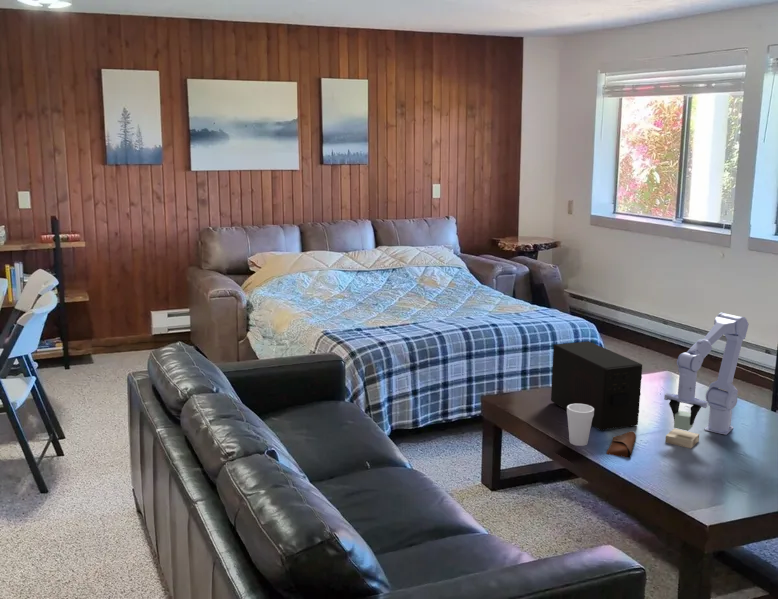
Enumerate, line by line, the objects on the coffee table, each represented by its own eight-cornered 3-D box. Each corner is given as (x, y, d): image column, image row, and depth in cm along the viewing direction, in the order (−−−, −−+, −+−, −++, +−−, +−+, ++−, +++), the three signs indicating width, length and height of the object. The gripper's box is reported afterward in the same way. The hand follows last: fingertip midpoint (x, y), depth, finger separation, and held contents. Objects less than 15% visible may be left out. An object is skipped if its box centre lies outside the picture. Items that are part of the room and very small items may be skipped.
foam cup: (595, 440, 286) (597, 406, 283) (587, 449, 278) (590, 414, 275) (569, 435, 290) (571, 401, 288) (561, 444, 282) (563, 409, 280)
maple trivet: (673, 436, 292) (674, 428, 291) (698, 441, 286) (699, 434, 286) (665, 443, 285) (665, 435, 284) (690, 449, 279) (691, 441, 279)
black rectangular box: (647, 428, 298) (653, 364, 292) (604, 435, 291) (608, 370, 286) (590, 397, 332) (593, 339, 327) (549, 402, 325) (552, 344, 320)
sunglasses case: (611, 436, 290) (622, 422, 287) (628, 447, 288) (639, 434, 286) (605, 454, 274) (616, 440, 271) (622, 466, 272) (634, 452, 270)
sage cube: (678, 423, 288) (679, 410, 286) (692, 426, 285) (693, 413, 283) (673, 427, 284) (674, 414, 283) (688, 430, 281) (689, 417, 280)
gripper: (662, 384, 282) (659, 421, 285) (704, 393, 274) (701, 430, 276) (669, 380, 288) (666, 415, 291) (710, 388, 279) (707, 424, 282)
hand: (683, 422), depth 284 cm, fingers closed on sage cube, 5 cm apart
